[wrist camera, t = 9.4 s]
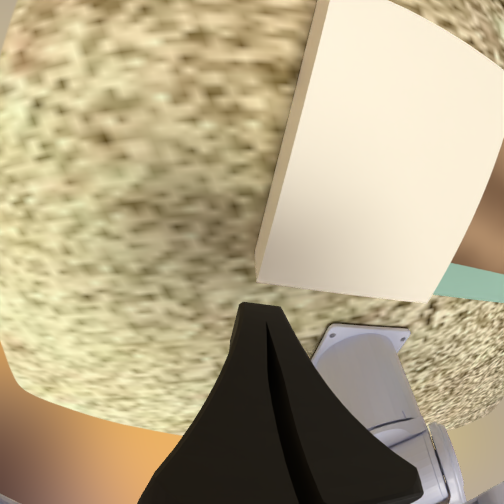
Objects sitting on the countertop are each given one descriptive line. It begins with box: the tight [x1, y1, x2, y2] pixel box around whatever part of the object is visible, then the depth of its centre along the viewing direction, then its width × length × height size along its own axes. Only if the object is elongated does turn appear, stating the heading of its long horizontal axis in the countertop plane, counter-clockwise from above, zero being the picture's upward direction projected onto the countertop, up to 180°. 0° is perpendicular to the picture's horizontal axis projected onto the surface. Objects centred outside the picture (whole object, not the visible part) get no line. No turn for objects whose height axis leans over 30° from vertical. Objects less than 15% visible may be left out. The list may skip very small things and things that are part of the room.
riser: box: [254, 0, 504, 303], centre depth 16 cm, size 16×12×3 cm
